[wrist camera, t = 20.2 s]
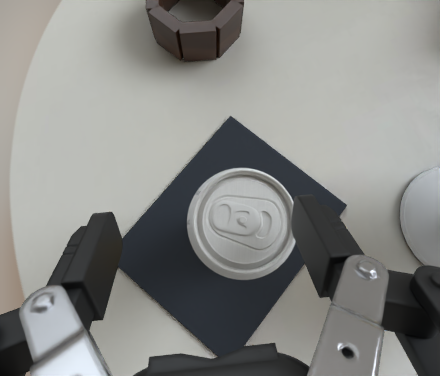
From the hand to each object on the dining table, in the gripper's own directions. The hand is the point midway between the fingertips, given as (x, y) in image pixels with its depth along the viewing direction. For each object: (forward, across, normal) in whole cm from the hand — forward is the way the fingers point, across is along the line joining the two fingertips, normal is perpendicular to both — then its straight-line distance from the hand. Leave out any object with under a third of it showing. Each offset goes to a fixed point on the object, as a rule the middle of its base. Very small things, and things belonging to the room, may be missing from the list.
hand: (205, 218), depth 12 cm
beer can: (+12, -2, +12) cm, 17 cm away
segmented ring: (+30, -1, -6) cm, 31 cm away
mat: (+12, -2, +12) cm, 17 cm away
